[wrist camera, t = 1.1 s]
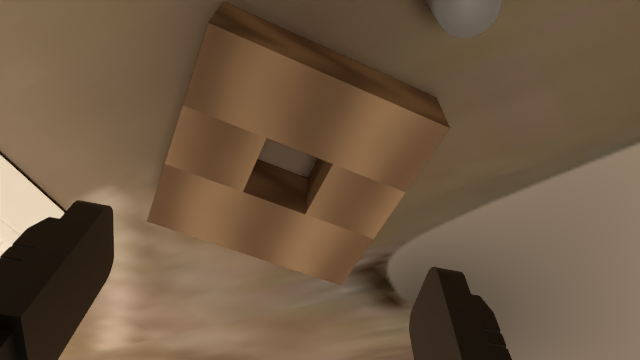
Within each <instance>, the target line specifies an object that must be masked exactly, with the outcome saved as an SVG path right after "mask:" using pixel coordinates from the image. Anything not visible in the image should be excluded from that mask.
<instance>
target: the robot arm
mask: <svg viewBox="0 0 640 360" xmlns="http://www.w3.org/2000/svg"><path fill="white" fill-rule="evenodd" d="M113 259H114V236H113V210H112V208H111V207H110V206H107V205H101V204H96V203H91V202H85V201H79V200H78V201H76V202H74V203H73V204H72V205H71V207H70V208H69V209H68V210H67V211H66V212H65V213H64V215H63V216H62V217H61V218H60V219H59V218H53V217H48V218H46V219H44V220H42V221H40V222H38V223H36V224H34V225H33V226H31V227H29V228H27V229H26V230H25V231H24V232H23V233H22V234H21V235H20V236H19V237H18V239H17V240H16V241H15V242H14V243H13V245H12V247H9V248H8V249H7V250H6V251H5V252H4V253H3V254H2V255H1V256H0V360H58V358H59V357H60V355H61V353H62V352H63V350H64V349H65V347H66V345H67V344H68V342H69V340H70V339H71V337H72V336H73V334H74V332H75V331H76V329H77V327H78V326H79V324H80V323H81V321H82V319H83V318H84V316H85V314H86V313H87V311H88V310H89V308H90V306H91V305H92V303H93V301H94V300H95V298H96V297H97V295H98V293H99V292H100V290H101V288H102V287H103V285H104V284H105V282H106V280H107V278H108V276H109V274H110V271H111V268H112V264H113ZM409 332H410V339H411V344H412V350H413V356H414V360H512V359H511V356H510V354H509V352H508V349H506V344H505V341H504V338H503V336H502V334H500V328H499V326H498V323H497V320H496V318H495V316H494V313H493V311H492V310H491V309H490V308H489V307H488V305H487V304H486V303H485V302H484V301H483V300H482V298H481V297H480V296H477V295H472V294H471V293H470V290H469V287H468V284H467V282H466V279H465V276H464V274H463V273H462V272H458V271H453V270H447V269H442V268H437V267H432V268H431V269H430V270H429V271H428V274H427V276H426V278H425V280H424V283H423V286H422V287H421V290H420V292H419V295H418V297H417V299H416V301H415V304H414V306H413V308H412V311H411V316H410V323H409Z"/></svg>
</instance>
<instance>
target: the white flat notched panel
mask: <svg viewBox="0 0 640 360" xmlns="http://www.w3.org/2000/svg"><path fill="white" fill-rule="evenodd" d="M63 215H64V212H63V211H62V210H61V209H60V208H59V207H58V206H57V205H55V204H54V203H53V202H52V201H51V200H50V199H49V198H48V197H47V196H45V195H44V194H43V193H42V192H41V191H40V190H39V189H38V188H37V187H35V186H34V185H33V184H32V183H31V182H30V181H29V180H28V179H27V178H26V177H24V176H23V175H22V174H21V173H20V172H19V171H18V170H17V169H16V168H14V167H13V166H12V165H11V164H10V163H9V162H8V161H7V160H5V159H4V158H3V157H2V156H1V155H0V256H1V255H2V254H3V253H4V252H5V251H6V250H7V249H8V248H9V247H12V245H13V243H14V242H15V241H16V240H17V239H18V237H19V236H20V235H21V234H22V233H23V232H24V231H25V230H26V229H27V228H29V227H31V226H33V225H34V224H36V223H38V222H40V221H42V220H44V219H46V218H48V217H53V218H59V219H60V218H61V217H62V216H63Z"/></svg>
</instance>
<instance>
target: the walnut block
mask: <svg viewBox="0 0 640 360" xmlns="http://www.w3.org/2000/svg"><path fill="white" fill-rule="evenodd" d="M449 129H450V127H449V125H448V122H447V120H446V118H445V116H444V113H443V111H442V109H441V107H440V104H439V102H438V100H437V98H436V97H434V96H431V95H429V94H427V93H425V92H423V91H420V90H418V89H416V88H414V87H411V86H409V85H407V84H405V83H403V82H400V81H398V80H396V79H394V78H391V77H389V76H387V75H385V74H383V73H380V72H378V71H376V70H374V69H371V68H369V67H367V66H365V65H363V64H360V63H358V62H356V61H354V60H351V59H349V58H347V57H345V56H343V55H340V54H338V53H336V52H334V51H331V50H329V49H327V48H325V47H323V46H320V45H318V44H316V43H314V42H311V41H309V40H307V39H305V38H303V37H300V36H298V35H296V34H294V33H291V32H289V31H287V30H285V29H283V28H280V27H278V26H276V25H274V24H271V23H269V22H267V21H265V20H263V19H260V18H258V17H256V16H254V15H251V14H249V13H247V12H245V11H243V10H240V9H238V8H236V7H234V6H232V5H229V4H227V3H225V2H223V3H222V5H221V6H220V7H219V9H218V10H217V11H216V13H215V14H214V16H213V17H212V18H211V20H210V21H209V22H208V25H207V28H206V31H205V35H204V38H203V41H202V44H201V48H200V51H199V54H198V57H197V61H196V64H195V67H194V70H193V74H192V77H191V80H190V83H189V87H188V90H187V93H186V96H185V100H184V103H183V106H182V109H181V113H180V116H179V119H178V122H177V126H176V129H175V132H174V135H173V138H172V142H171V145H170V148H169V151H168V155H167V158H166V161H165V164H164V168H163V171H162V174H161V177H160V181H159V184H158V187H157V190H156V194H155V197H154V200H153V203H152V207H151V210H150V213H149V216H148V220H147V222H150V223H153V224H156V225H160V226H163V227H166V228H169V229H172V230H175V231H178V232H181V233H184V234H187V235H190V236H193V237H196V238H199V239H202V240H205V241H208V242H211V243H214V244H217V245H220V246H223V247H226V248H229V249H232V250H235V251H238V252H241V253H244V254H247V255H250V256H254V257H257V258H260V259H263V260H266V261H269V262H272V263H275V264H278V265H281V266H284V267H287V268H290V269H293V270H296V271H299V272H302V273H305V274H308V275H311V276H314V277H317V278H320V279H323V280H326V281H329V282H332V283H335V284H338V285H342V284H343V282H344V281H345V279H346V278H347V276H348V275H349V273H350V272H351V271H352V269H353V268H354V266H355V265H356V263H357V262H358V260H359V259H360V258H361V256H362V255H363V253H364V252H365V250H366V249H367V247H368V246H369V245H370V243H371V242H372V240H373V239H374V237H375V236H376V234H377V233H378V232H379V230H380V229H381V227H382V226H383V224H384V223H385V221H386V220H387V219H388V217H389V216H390V214H391V213H392V211H393V210H394V208H395V207H396V206H397V204H398V203H399V201H400V200H401V198H402V197H403V196H404V194H405V193H406V191H407V190H408V188H409V187H410V185H411V184H412V183H413V181H414V180H415V178H416V177H417V175H418V174H419V172H420V171H421V170H422V168H423V167H424V165H425V164H426V162H427V161H428V159H429V158H430V157H431V155H432V154H433V152H434V151H435V149H436V148H437V146H438V145H439V144H440V142H441V141H442V139H443V138H444V136H445V135H446V133H447V132H448V131H449ZM266 138H268V139H270V140H273V141H275V142H278V143H280V144H283V145H286V146H288V147H291V148H293V149H296V150H298V151H301V152H303V153H306V154H309V155H311V156H314V157H316V158H319V159H318V161H317V162H316V164H315V166H314V168H313V170H312V172H311V174H310V176H309V177H308V179H307V178H304V177H302V176H299V175H296V174H294V173H291V172H288V171H286V170H283V169H281V168H278V167H275V166H273V165H270V164H267V163H265V162H262V161H259V160H257V159H258V156H259V154H260V152H261V150H262V147H263V145H264V143H265V141H266Z"/></svg>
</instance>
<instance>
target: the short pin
mask: <svg viewBox="0 0 640 360" xmlns="http://www.w3.org/2000/svg"><path fill="white" fill-rule="evenodd" d="M424 1H425V3H426V4H427V6H428V7H429V9H430V10H431V12H432V13H433V15H434V16H435V18H436V20H437V21H438V23H439V24H440V26H441V27H442V29H443V30H444V31H445V32H447V33H448V34H449V35H451V36H454V37H457V38H470V37H474V36H477V35H479V34H481V33H483V32H484V31H485V30H487V29H488V28H489V27H490V26H491V25H492V24H493V23H494V21H495V20H496V18H497V16H498V14H499V12H500V9H501V4H502V0H424Z"/></svg>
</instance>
